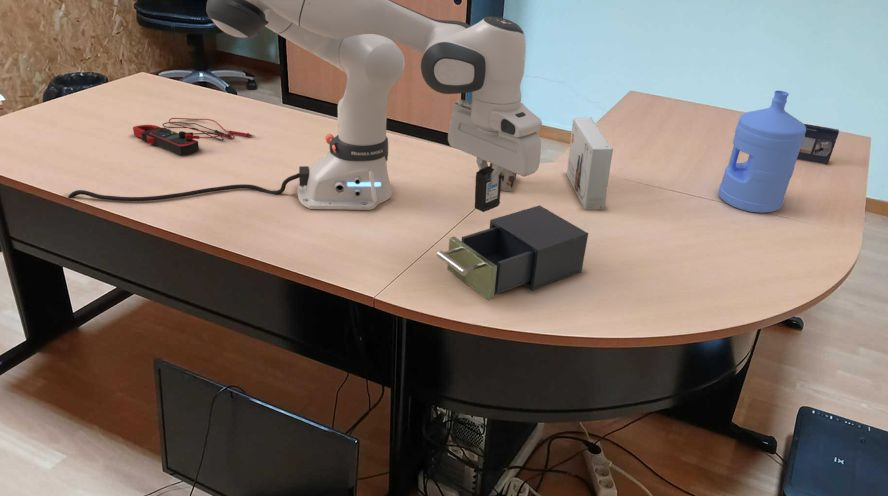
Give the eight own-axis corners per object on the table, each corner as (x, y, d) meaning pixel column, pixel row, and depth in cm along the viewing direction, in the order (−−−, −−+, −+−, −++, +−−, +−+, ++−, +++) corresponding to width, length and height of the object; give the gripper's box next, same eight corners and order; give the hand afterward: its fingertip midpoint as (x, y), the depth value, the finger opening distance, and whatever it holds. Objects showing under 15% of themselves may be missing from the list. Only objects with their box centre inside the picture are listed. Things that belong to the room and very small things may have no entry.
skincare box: (563, 174, 194) (572, 116, 186) (584, 174, 195) (593, 117, 186) (582, 210, 177) (593, 147, 168) (604, 210, 177) (616, 148, 169)
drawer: (468, 308, 136) (471, 275, 132) (427, 276, 145) (428, 243, 141) (537, 282, 145) (542, 250, 141) (495, 253, 154) (498, 222, 150)
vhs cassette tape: (761, 152, 217) (771, 120, 212) (761, 149, 219) (771, 117, 214) (828, 165, 212) (839, 132, 206) (827, 161, 214) (839, 129, 209)
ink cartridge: (482, 213, 141) (484, 174, 137) (474, 209, 142) (475, 171, 138) (500, 205, 144) (502, 167, 140) (491, 201, 145) (493, 164, 141)
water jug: (780, 194, 192) (814, 89, 177) (782, 219, 179) (819, 107, 164) (718, 183, 196) (747, 79, 181) (716, 206, 183) (747, 96, 168)
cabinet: (532, 290, 144) (538, 250, 139) (486, 258, 154) (490, 219, 149) (581, 272, 152) (588, 233, 147) (534, 242, 161) (539, 205, 156)
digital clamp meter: (183, 145, 184) (123, 120, 196) (185, 162, 186) (126, 136, 198) (255, 122, 200) (196, 100, 212) (256, 138, 203) (198, 115, 214)
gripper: (442, 100, 137) (438, 168, 145) (527, 131, 126) (518, 204, 133) (465, 93, 141) (460, 160, 149) (549, 123, 130) (540, 195, 137)
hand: (488, 181), depth 141 cm, fingers closed, pressing on ink cartridge
